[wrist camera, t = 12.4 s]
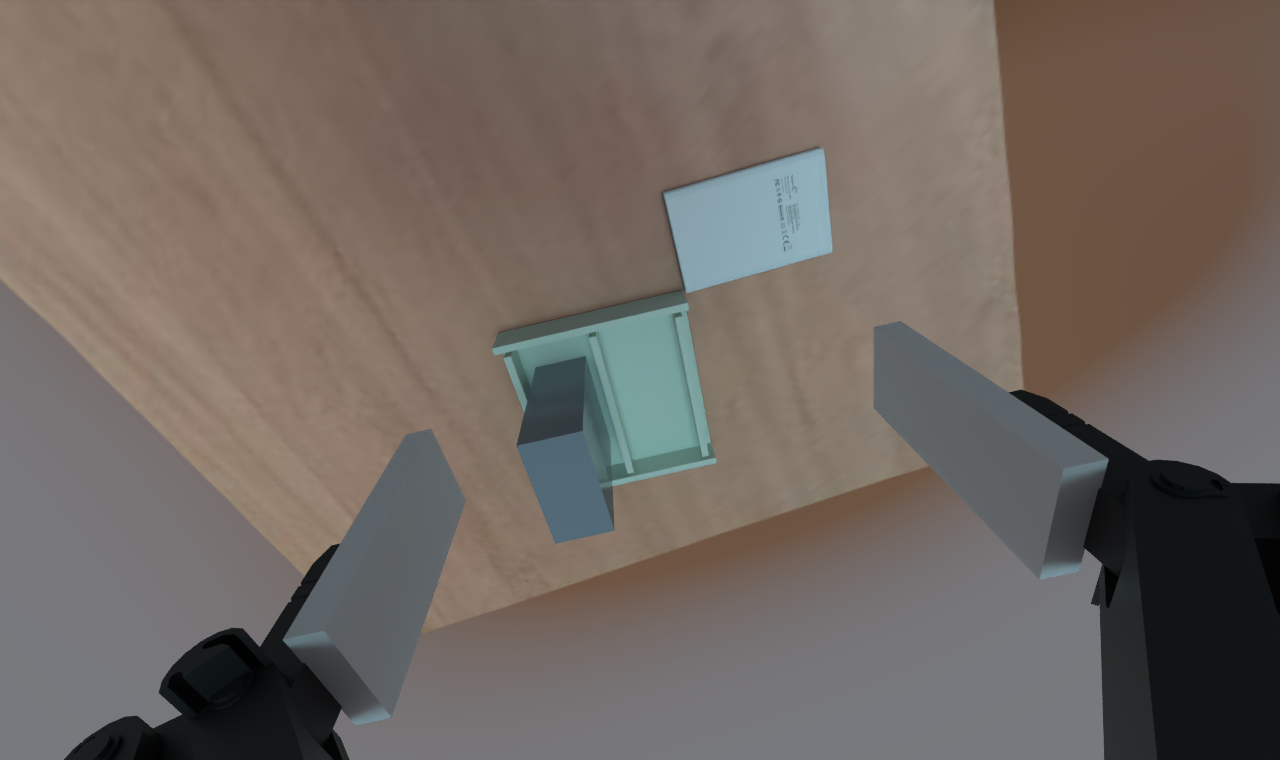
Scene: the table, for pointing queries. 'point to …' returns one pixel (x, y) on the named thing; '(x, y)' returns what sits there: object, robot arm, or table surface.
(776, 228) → the external hard drive
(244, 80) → the table surface
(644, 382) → the green divided tray
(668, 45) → the table surface
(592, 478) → the blue-grey rectangular block
